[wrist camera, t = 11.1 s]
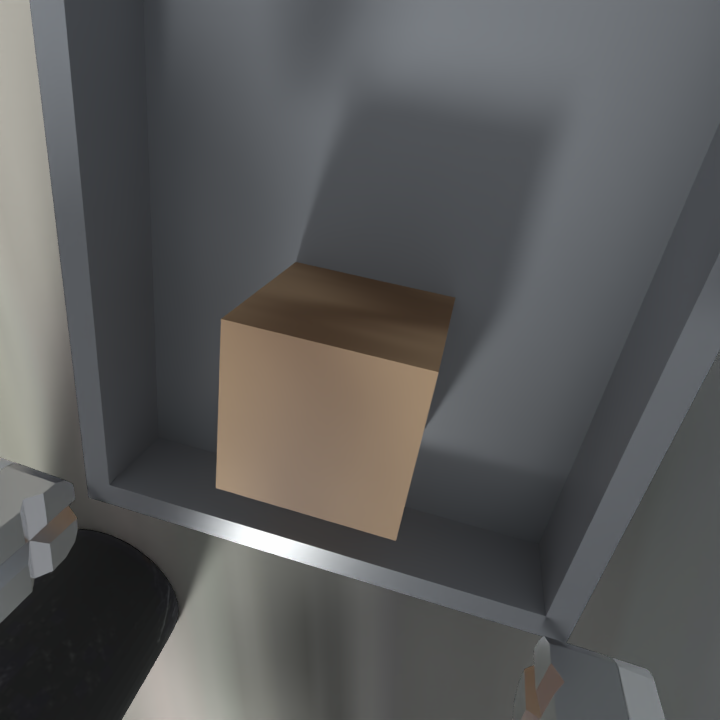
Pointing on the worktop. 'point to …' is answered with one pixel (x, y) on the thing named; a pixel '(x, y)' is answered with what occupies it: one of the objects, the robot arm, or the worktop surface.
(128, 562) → the travel mug
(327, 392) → the walnut block
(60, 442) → the worktop surface
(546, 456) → the charcoal tray
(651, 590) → the worktop surface
